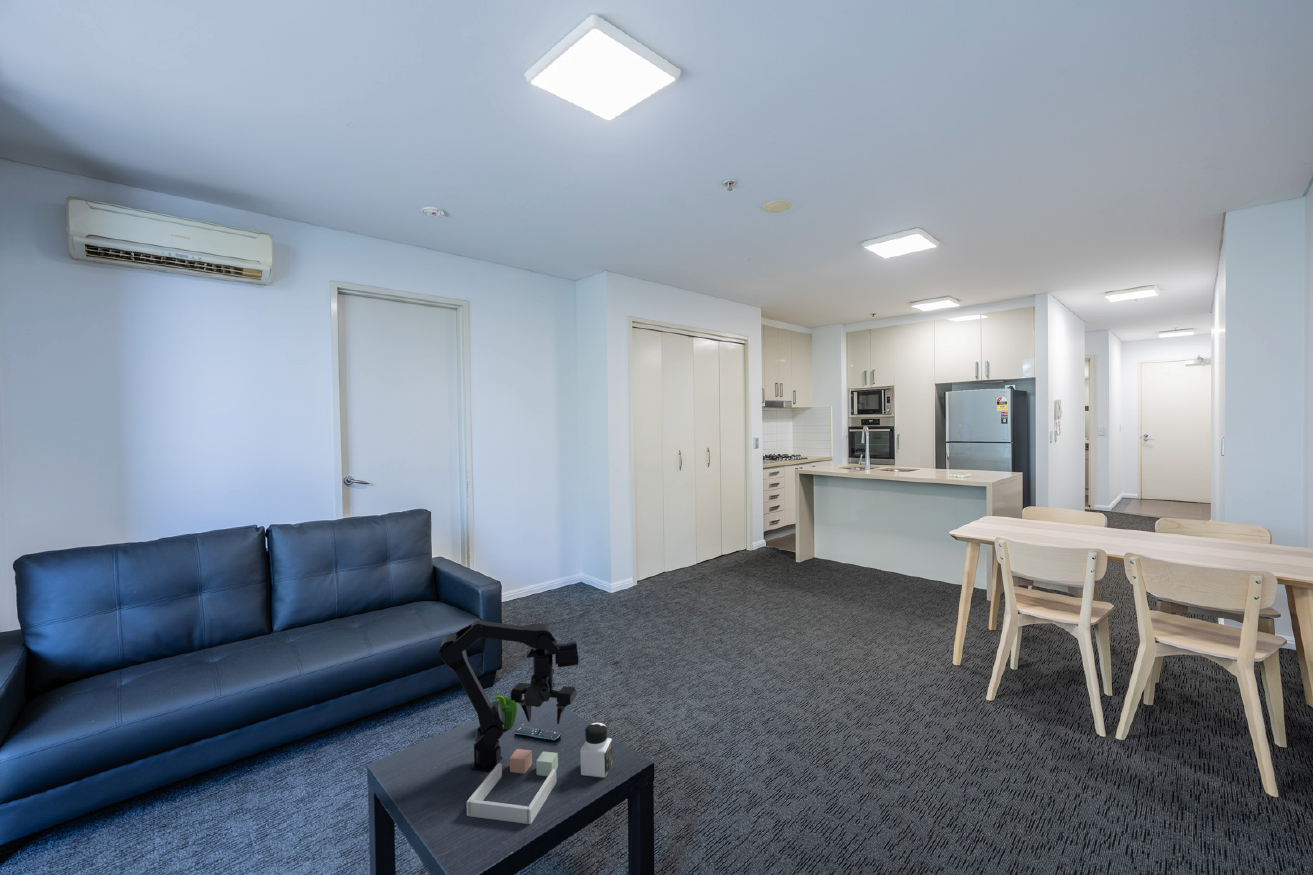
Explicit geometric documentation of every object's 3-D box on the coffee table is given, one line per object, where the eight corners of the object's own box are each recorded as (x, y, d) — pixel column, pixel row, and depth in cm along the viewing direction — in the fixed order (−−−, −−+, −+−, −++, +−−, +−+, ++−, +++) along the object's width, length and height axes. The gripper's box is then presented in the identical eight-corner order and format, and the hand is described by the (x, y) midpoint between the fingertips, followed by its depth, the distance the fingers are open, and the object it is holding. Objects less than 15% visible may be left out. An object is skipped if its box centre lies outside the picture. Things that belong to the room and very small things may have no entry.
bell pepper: (521, 719, 179) (521, 689, 179) (511, 733, 171) (510, 701, 171) (497, 718, 180) (497, 688, 180) (486, 731, 172) (485, 700, 172)
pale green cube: (536, 775, 149) (536, 760, 149) (543, 765, 154) (542, 751, 154) (552, 776, 149) (551, 762, 148) (558, 767, 153) (557, 752, 153)
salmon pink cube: (509, 772, 151) (509, 757, 151) (517, 762, 155) (516, 748, 155) (524, 773, 150) (524, 759, 150) (531, 764, 155) (531, 750, 155)
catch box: (466, 815, 134) (466, 801, 134) (498, 775, 149) (498, 763, 149) (530, 824, 130) (530, 809, 130) (556, 782, 146) (556, 769, 146)
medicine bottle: (605, 778, 147) (604, 734, 147) (580, 775, 149) (579, 732, 149) (612, 762, 154) (611, 720, 154) (588, 760, 156) (588, 718, 156)
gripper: (500, 679, 153) (501, 734, 153) (562, 684, 150) (563, 740, 149) (518, 662, 164) (519, 714, 164) (576, 667, 160) (577, 719, 160)
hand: (543, 722), depth 159 cm, fingers open, 9 cm apart
